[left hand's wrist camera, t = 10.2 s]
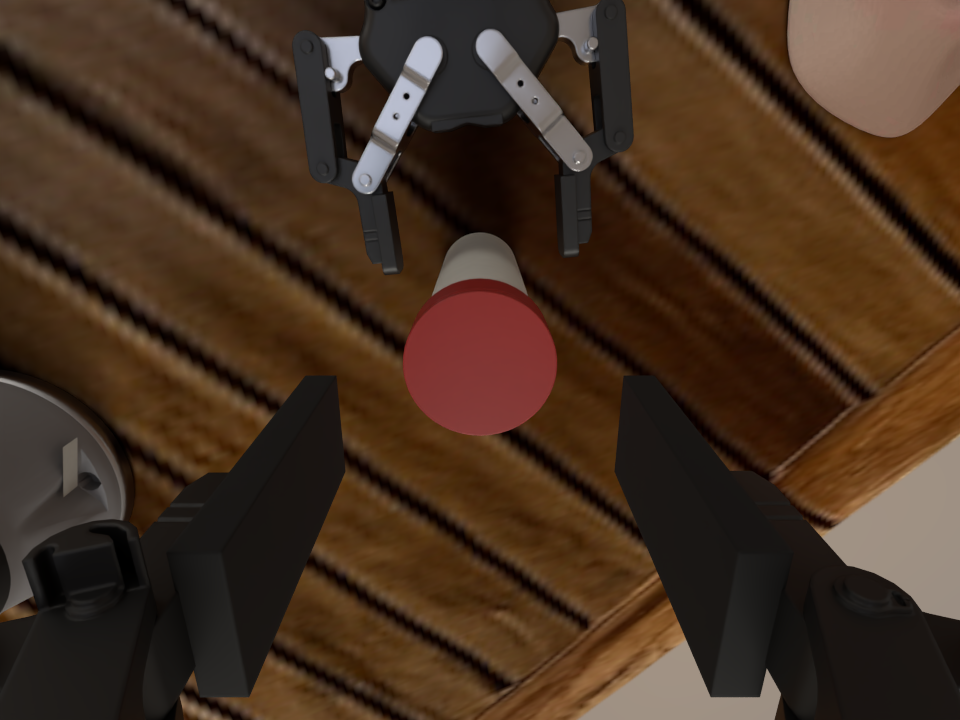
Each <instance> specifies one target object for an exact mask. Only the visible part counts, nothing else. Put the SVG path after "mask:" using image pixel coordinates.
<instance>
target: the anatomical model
mask: <svg viewBox="0 0 960 720" xmlns="http://www.w3.org/2000/svg"><path fill="white" fill-rule="evenodd" d="M787 38H788V52H789V58H790V63H791V65H792V68H793V71H794V73H795V75H796V77H797V79H798V81H799V83H800V84H801V85H802V87H803V88H804V89H805V91H806V92H807V93H808V94H809V95H810V96H811V97H812V98H813V99H814V100H815V101H816V102H817V103H818V104H819V105H821V106H822V107H823V108H825V109H826V110H827V111H828V112H830V113H831V114H833V115H835V116H836V117H838V118H839V119H841V120H843V121H844V122H846V123H848V124H850V125H852V126H854V127H856V128H858V129H860V130H862V131H865V132H868V133H870V134H873V135H877V136H881V137H897V136H901V135H904V134H906V133H909V132H910V131H912V130H914V129H915V128H916V127H918V126H919V125H920V124H922V123H923V122H924V121H925V120H926V119H927V118H928V117H929V116H930V115H931V114H932V113H933V112H934V111H935V110H936V109H937V108H938V107H939V106H940V105H941V104H942V103H943V102H944V101H945V100H946V99H947V98H948V97H949V95H950V94H951V93H952V92H953V91H954V90H955V89H956V88H957V87H958V86H959V85H960V0H790V3H789V13H788V30H787Z"/></svg>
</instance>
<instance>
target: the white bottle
mask: <svg viewBox="0 0 960 720" xmlns="http://www.w3.org/2000/svg"><path fill="white" fill-rule="evenodd" d="M477 278H483V279H492V280H498V281H501V282H504V283H507V284H509V285H511V286H513V287H516V288H517V289H519V290H520V291H522V292H523V293H525V294H526V295H527V292H526V289H525V286H524V283H523V280H522V277H521V274H520V271H519V268H518V265H517V262H516V259H515V257H514V254H513V252H512V250H511V249H510V247H509V246H508V245H507V244H506V243H505V242H504V241H503V240H501V239H500V238H498V237H496V236H494V235H492V234H488V233H472V234H468V235H466V236H464V237H462V238H460V239H459V240H457V241H456V242H455V243H454V244H453V245H452V246H451V247H450V249H449V250H448V252H447V254H446V257H445V259H444V262H443V265H442V268H441V271H440V274H439V277H438V280H437V283H436V286H435V289H434V292H433V295H434V294H435V293H437V292H438V291H440V290H441V289H443V288H444V287H447V286H449V285H451V284H453V283H456V282H459V281H462V280H468V279H477ZM433 295H432V296H433ZM527 296H528V295H527Z"/></svg>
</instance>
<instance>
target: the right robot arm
mask: <svg viewBox="0 0 960 720" xmlns="http://www.w3.org/2000/svg"><path fill="white" fill-rule="evenodd" d="M364 4H365V16H364V23H363V27H362V30H361V33H360V36H346V37H324V38H321V37H318V36H317V35H316V34H314V33H313V32H311V31H307V30H303V31H300V32H298V33H297V34H296V35H295V37H294V39H293V43H292V47H293V55H294V62H295V69H296V76H297V84H298V91H299V98H300V106H301V113H302V120H303V127H304V135H305V142H306V149H307V156H308V164H309V170H310V174H311V176H312V177H313V178H314V179H315V180H316V181H318V182H320V183H329V184H333V185H336V186H340V187H344V188H347V189H349V190H350V191H352V192H353V193H354V195H355V196H356V198H357V200H358V204H359V210H360V216H361V222H362V228H363V232H364V239H365V245H366V251H367V255H368V256H369V258H370V260H371V262H372V263H373V264H377V263H382V268H383V272H384V274H385V275H391V274H400V272H401V271H402V269H403V256H402V249H401V243H400V236H399V229H398V222H397V216H396V209H395V202H394V196H393V191H392V192H388V189H387V182H388V180H389V178H390V176H391V174H392V172H393V170H394V169H395V167H396V165H397V163H398V161H399V159H400V157H401V155H402V154H403V152H404V151H405V150H406V148H407V146H408V145H409V143H410V141H411V139H412V137H413V135H414V133H415V131H416V130H417V128H418V126H420V127H422V128H424V129H426V130H428V131H432V132H434V133H441V132H450V131H454V130H456V129H458V128H461V127H463V126H466V125H473V126H478V127H484V128H487V127H496V126H502V124H504V123H506V122H508V121H509V120H511V119H512V118H513V117H514V116H515V115H516V114H517V116H518V117H519V118H520V119H521V120H522V122H523V123H524V124H525V125H526V126H527V128H528V129H529V130H530V131H531V132H532V133H533V134H534V136H536V137H537V138H538V139H539V140H540V142H541V143H542V144H543V145H544V146H545V148H546V149H547V150H548V151H549V152H550V154H551V155H552V156H553V157H554V158H555V160H556V161H557V162H558V163H559V175H554V179H555V198H556V217H557V235H558V249H559V253H560V254H561V256H562V257H563V258H566V257H576V256H578V255H579V244H580V243H588V241H589V238H590V235H591V232H592V221H591V190H590V175H591V172H592V170H593V168H594V166H595V165H596V164H597V163H598V162H600V161H602V160H604V159H606V158H608V157H610V156H612V155H614V154H616V153H618V152H623V151H625V150H627V149H628V148H629V147H630V146H631V144H632V142H633V138H634V134H633V118H632V103H631V87H630V72H629V56H628V41H627V25H626V10H625V5H624V3H623V1H622V0H601V1H600V2H599V3H598V4H597V5H595V6H591V7H586V8H580V9H575V10H569V11H564V12H559V13H556V12H555V10H554V9H553V7H552V5H551V4H550V1H549V0H364ZM557 41H562V42H565V43H566V44H568V45H569V47H570V48H571V50H572V54H573V57H574V59H575V61H576V62H577V63H578V64H580V65H589V77H590V88H591V100H592V112H593V123H594V132H592V133H590V134H588V135H586V136H584V137H581V136H580V135H579V133H578V132H577V131H576V130H575V128H574V127H573V126H572V125H571V124H570V122H569V121H568V120H567V119H566V117H565V116H564V113H563V112H562V110H561V108H560V107H559V106H558V105H557V103H556V102H555V101H554V100H553V98H552V97H551V96H550V95H549V93H548V92H547V91H546V90H545V88H544V87H543V86H542V85H541V84H540V82H539V81H538V80H537V78H538V76H539V75H540V73H541V71H542V69H543V67H544V66H545V64H546V62H547V60H548V58H549V57H550V55H551V53H552V51H553V49H554V47H555V46H556V43H557ZM363 63H364V65H365V66H366V67H367V69H368V70H369V71H370V72H371V73H372V74H373V76H374V77H375V78H376V79H377V80H378V81H379V83H380V84H381V85H382V86H383V87H384V88H385V89H386V91H387V92H388V93H389V94H390V97H389V99H388V101H387V103H386V104H385V106H384V108H383V110H382V112H381V114H380V116H379V118H378V120H377V122H376V124H375V126H374V128H373V131H372V134H371V138H370V141H369V143H368V145H367V147H366V149H365V151H364V153H363V155H362V157H361V159H360V161H357V160H353V159H349V158H347V151H346V142H345V133H344V125H343V116H342V107H341V98H340V93H344V92H346V91H348V90H349V88H350V87H351V85H352V77H353V72H354V70H355V68H356V67H357V66H358V65H360V64H363Z"/></svg>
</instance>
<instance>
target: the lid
mask: <svg viewBox="0 0 960 720" xmlns="http://www.w3.org/2000/svg"><path fill="white" fill-rule="evenodd" d="M403 372H404V378H405V381H406V385H407V388H408V390H409V392H410V394H411V396H412V398H413V400H414V401H415V403H416V404H417V405H418V407H419V408H420V409H421V410H422V411H423V412H424V413H425V414H426V415H427V416H428V417H429V418H431V419H432V420H433V421H435V422H436V423H438V424H439V425H441V426H443V427H445V428H447V429H450V430H452V431H455V432H459V433H463V434H468V435H492V434H498V433H501V432H505V431H508V430H510V429H513V428H515V427H517V426H519V425H521V424H522V423H524V422H525V421H527V420H528V419H529V418H531V417H532V416H533V415H534V414H535V413H536V412H537V411H538V410H539V409H540V408H541V407H542V405H543V404H544V403H545V401H546V400H547V398H548V396H549V394H550V392H551V390H552V388H553V385H554V382H555V378H556V372H557V354H556V348H555V345H554V341H553V338H552V336H551V333H550V331H549V328H548V326H547V323H546V321H545V319H544V317H543V314H542V313H541V311H540V310H539V308H538V307H537V305H536V304H535V303H534V302H533V301H532V300H531V299H530V298H529V297H528V296H527V295H526V294H525V293H523V292H522V291H520V290H519V289H517V288H516V287H513V286H511V285H509V284H507V283H504V282H501V281H498V280H492V279H483V278H477V279H468V280H462V281H459V282H456V283H453V284H451V285H449V286H447V287H444V288H443V289H441V290H440V291H438V292H437V293H435V294H434V295H433V296H432V297H431V298H430V299H429V300H428V301H427V302H426V303H425V304H424V305H423V307H422V308H421V310H420V311H419V313H418V314H417V317H416V319H415V321H414V323H413V326H412V328H411V331H410V333H409V336H408V338H407V342H406V345H405V348H404V354H403Z"/></svg>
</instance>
